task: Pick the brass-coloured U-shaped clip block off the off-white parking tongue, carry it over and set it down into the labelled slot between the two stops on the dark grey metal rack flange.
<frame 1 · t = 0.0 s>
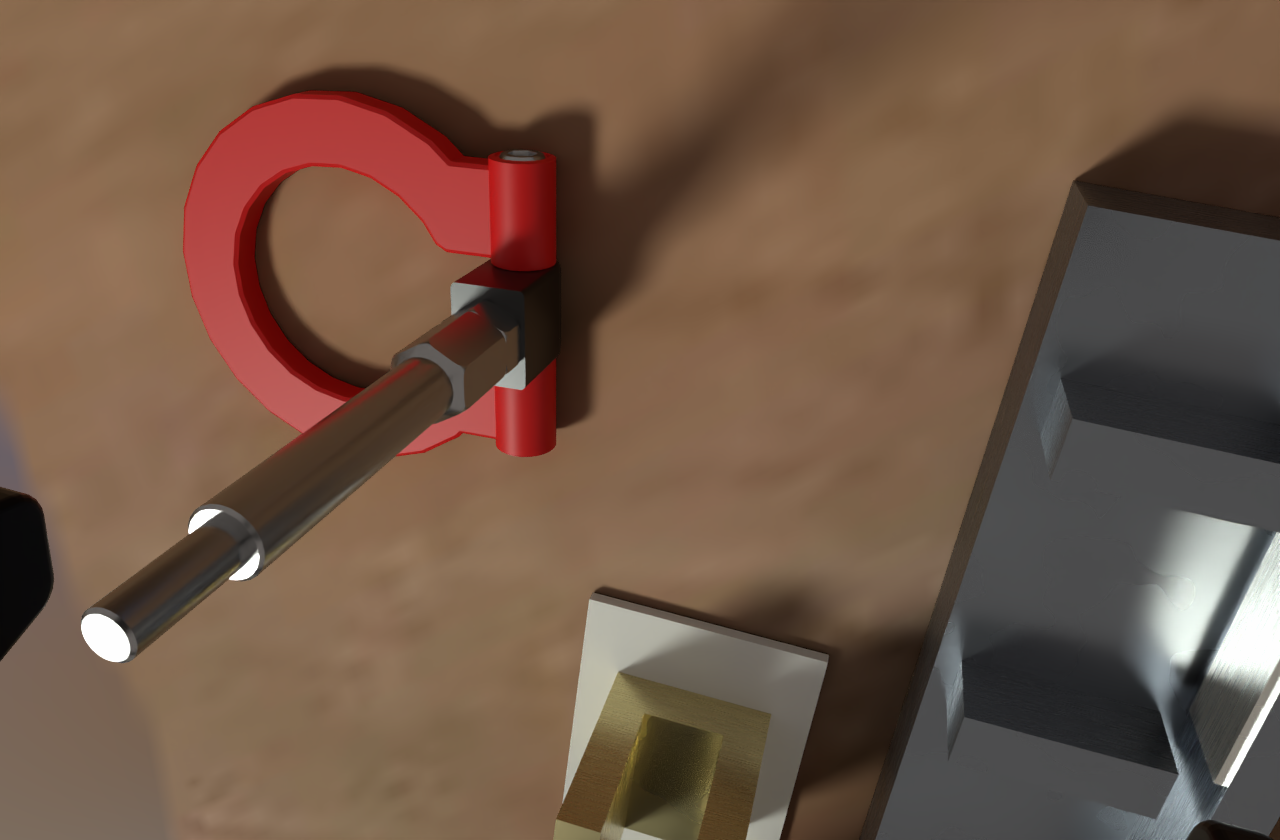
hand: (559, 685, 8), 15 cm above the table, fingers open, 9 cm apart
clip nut: (682, 750, 27), resting on parking tongue
tow hook: (384, 277, 24), on the table
rack flange: (1067, 644, 23), on the table
parking tongue: (684, 742, 27), on the table
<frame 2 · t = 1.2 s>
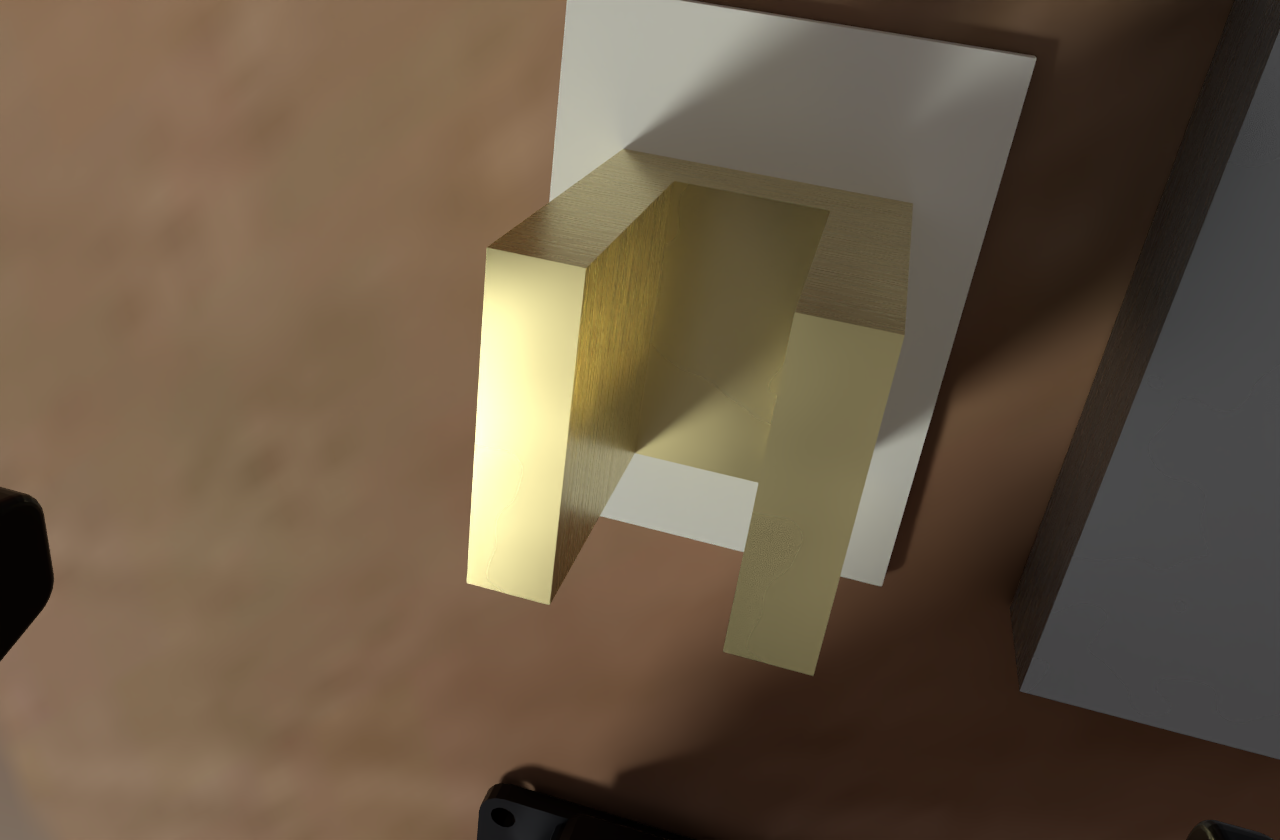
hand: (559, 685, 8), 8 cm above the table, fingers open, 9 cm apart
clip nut: (739, 312, 15), resting on parking tongue
parking tongue: (742, 305, 15), on the table
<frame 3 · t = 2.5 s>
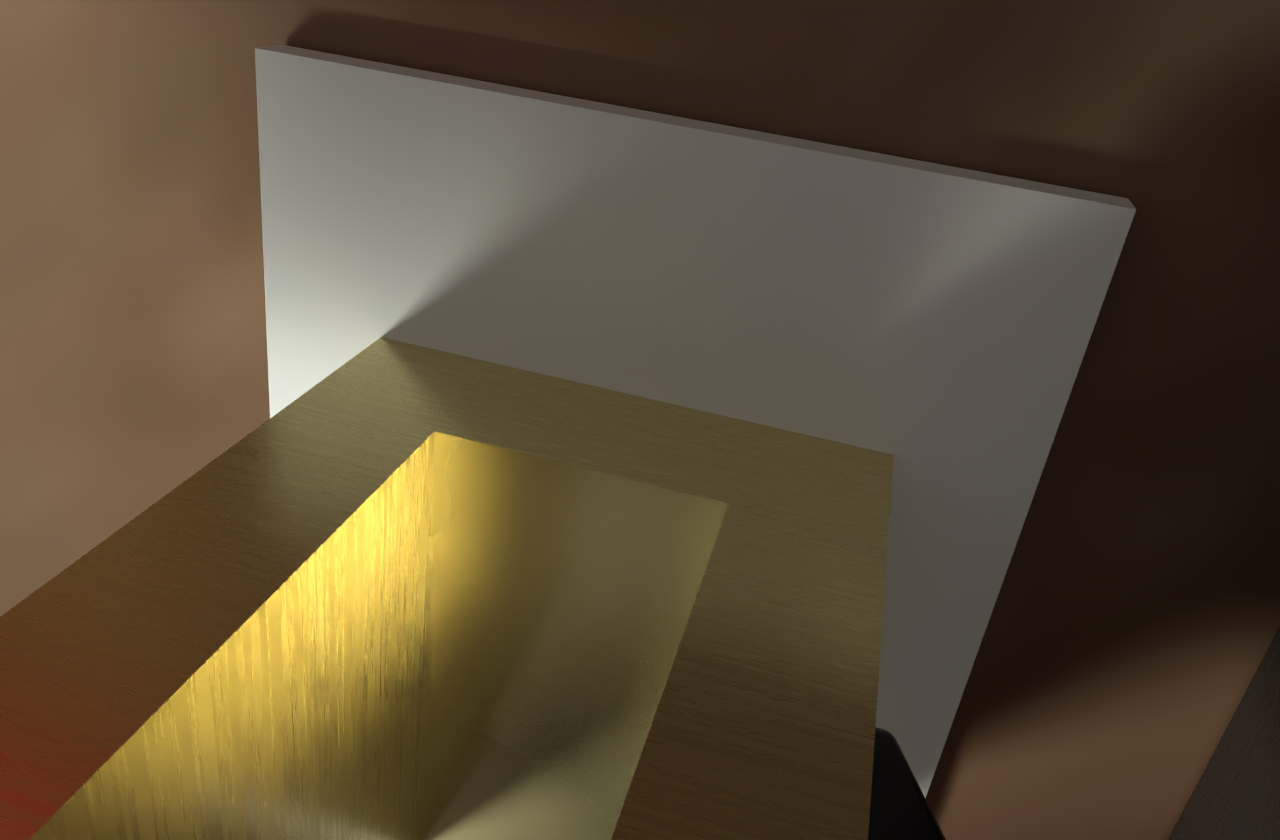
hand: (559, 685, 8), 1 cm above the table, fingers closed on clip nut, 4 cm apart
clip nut: (597, 606, 9), resting on parking tongue, touching gripper
parking tongue: (607, 586, 9), on the table
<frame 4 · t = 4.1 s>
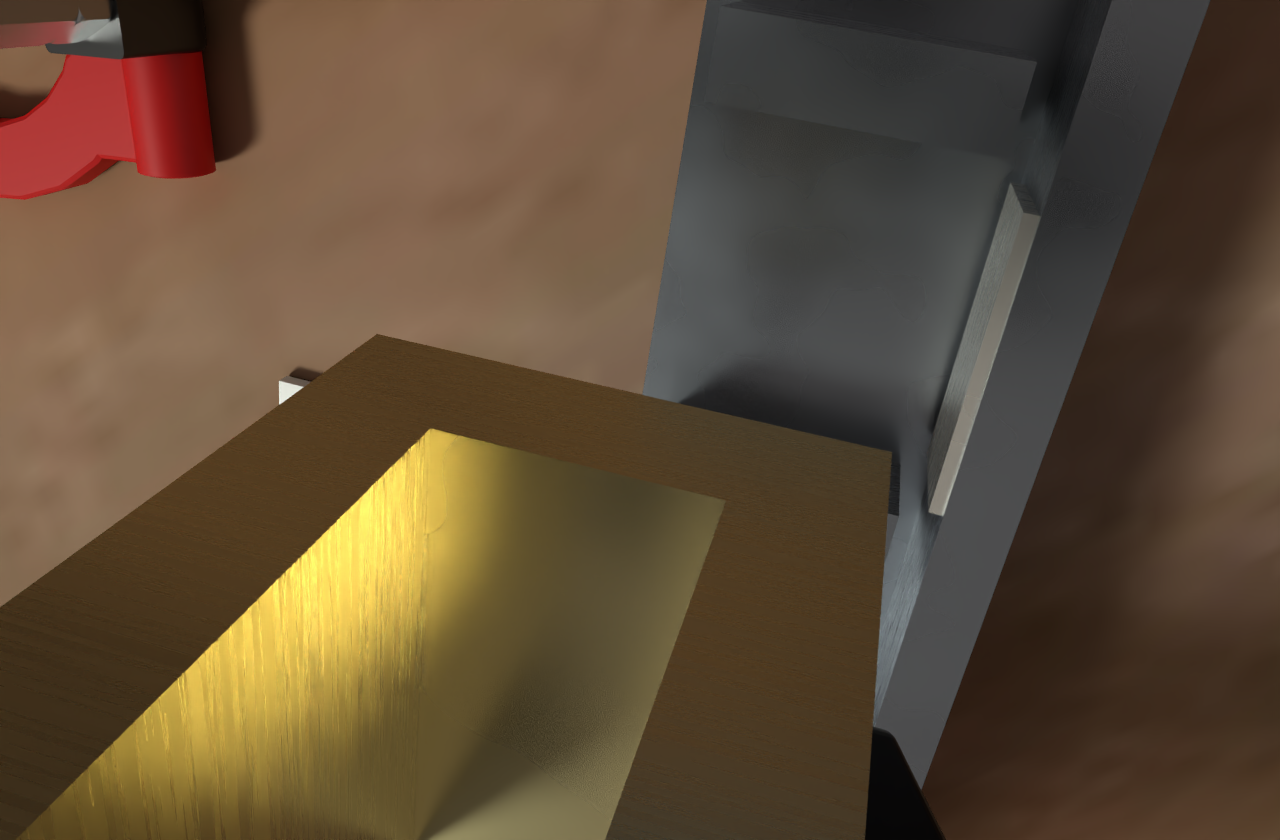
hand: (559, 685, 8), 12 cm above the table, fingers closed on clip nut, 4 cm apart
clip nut: (594, 604, 9), point 11 cm above the table, touching gripper
rack flange: (817, 412, 19), on the table
parking tongue: (408, 566, 23), on the table
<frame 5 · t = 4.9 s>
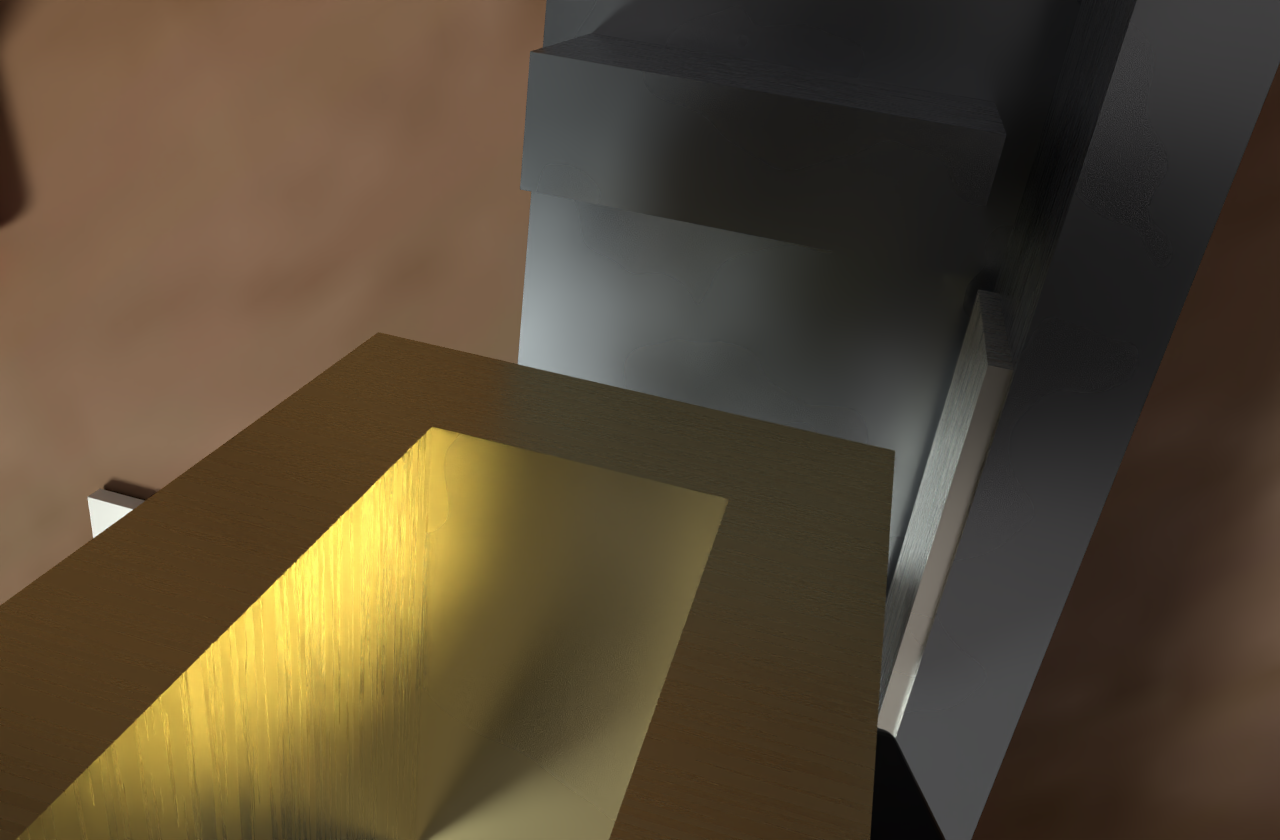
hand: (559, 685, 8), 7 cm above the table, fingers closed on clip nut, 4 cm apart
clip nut: (596, 604, 8), point 6 cm above the table, touching gripper
rack flange: (745, 550, 15), on the table
parking tongue: (266, 710, 19), on the table
when the fingers open (4 cm above the table, at t = 5.6 s): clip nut drops 1 cm, resting on rack flange.
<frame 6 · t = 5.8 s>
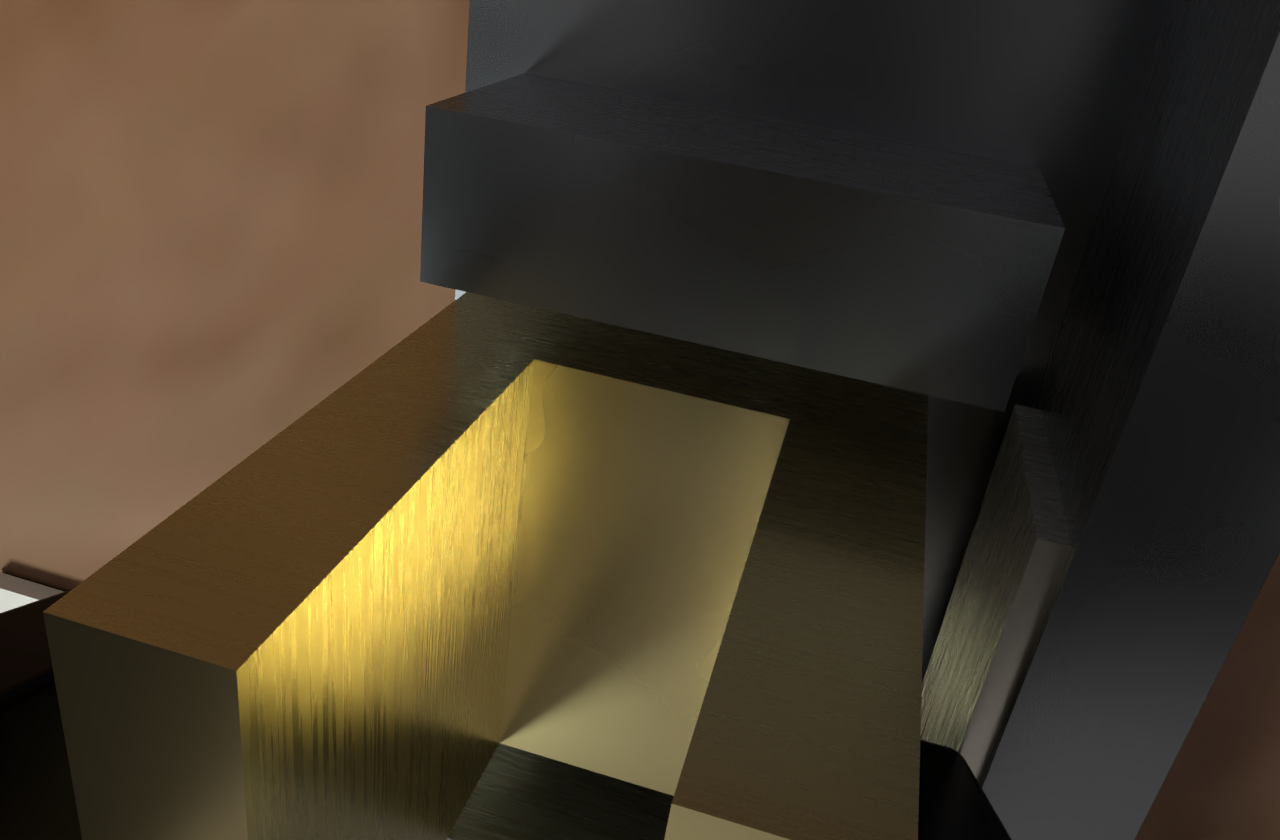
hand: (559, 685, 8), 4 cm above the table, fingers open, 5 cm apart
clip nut: (660, 529, 10), point 2 cm above the table, touching rack flange
rack flange: (728, 666, 13), on the table
parking tongue: (191, 816, 17), on the table
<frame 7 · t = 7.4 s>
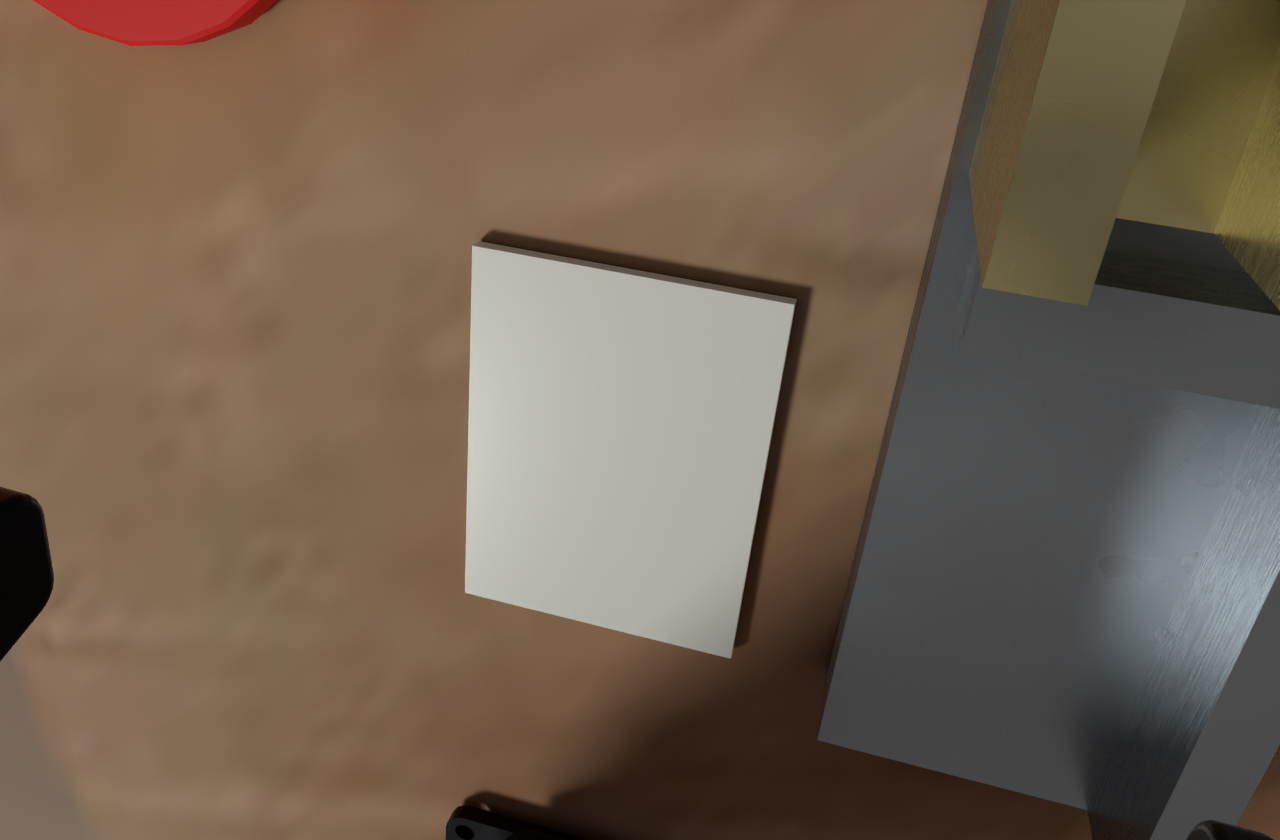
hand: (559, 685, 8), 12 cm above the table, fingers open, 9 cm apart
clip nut: (1165, 45, 13), point 2 cm above the table, touching rack flange
rack flange: (1130, 238, 16), on the table
parking tongue: (614, 458, 20), on the table
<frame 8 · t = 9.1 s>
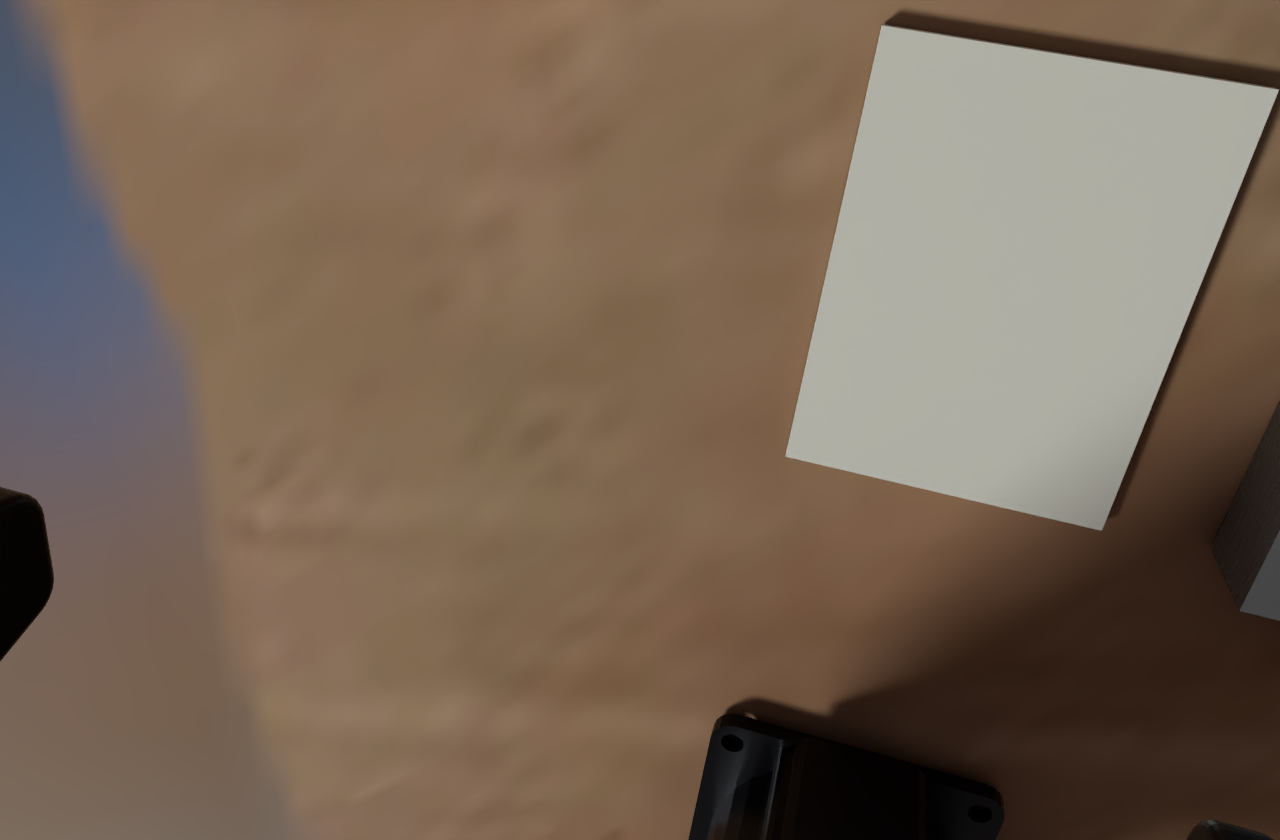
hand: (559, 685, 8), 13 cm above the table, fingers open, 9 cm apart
parking tongue: (999, 291, 18), on the table
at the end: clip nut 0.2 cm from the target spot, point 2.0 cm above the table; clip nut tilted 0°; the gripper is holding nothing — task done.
